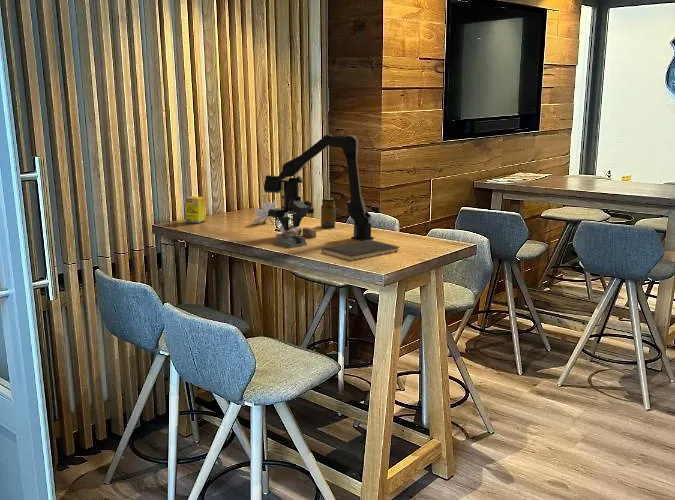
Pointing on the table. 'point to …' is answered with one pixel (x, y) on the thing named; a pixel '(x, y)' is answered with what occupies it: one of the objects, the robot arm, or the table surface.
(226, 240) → the table surface
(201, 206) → the supplement box
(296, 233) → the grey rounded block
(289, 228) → the axle
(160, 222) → the table surface
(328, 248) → the hardcover book
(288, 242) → the v block
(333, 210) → the condiment
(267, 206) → the water lily
